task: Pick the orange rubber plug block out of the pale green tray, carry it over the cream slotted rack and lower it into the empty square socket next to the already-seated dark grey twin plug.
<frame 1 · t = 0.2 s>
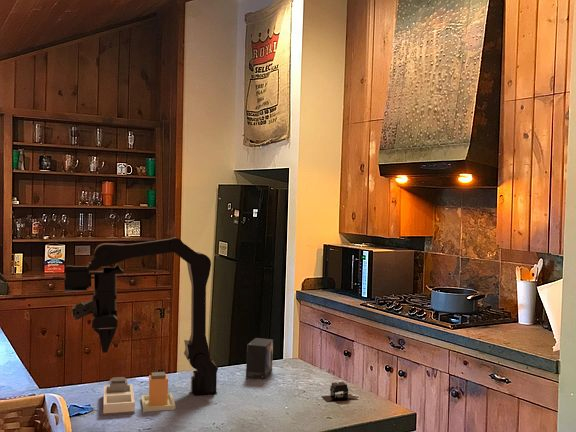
hand: (104, 348, 163), 14 cm above the table, fingers open, 9 cm apart
small box: (259, 375, 193), on the table
tray: (158, 406, 160), on the table
cream slotted rack: (118, 406, 159), on the table
plug: (158, 404, 160), point 1 cm above the table, touching tray
build plate: (339, 400, 171), on the table
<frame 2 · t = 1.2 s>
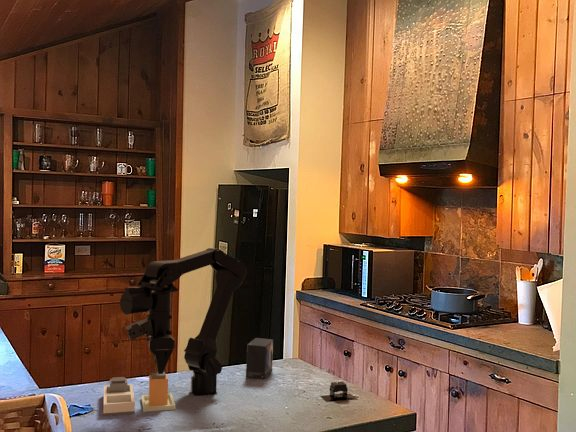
hand: (158, 369, 160), 10 cm above the table, fingers open, 9 cm apart
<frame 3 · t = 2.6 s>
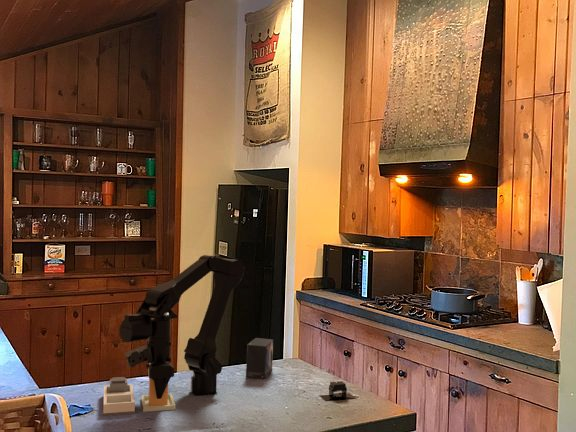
hand: (158, 395, 160), 3 cm above the table, fingers closed on plug, 4 cm apart
plug: (158, 404, 160), point 1 cm above the table, touching gripper, tray
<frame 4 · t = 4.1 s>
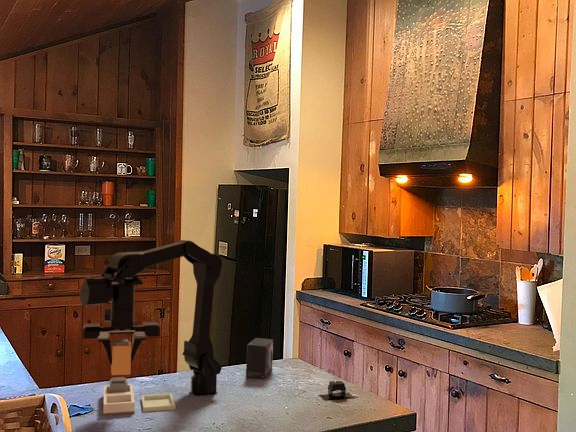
hand: (120, 363, 155), 12 cm above the table, fingers closed on plug, 4 cm apart
plug: (120, 372, 155), point 10 cm above the table, touching gripper
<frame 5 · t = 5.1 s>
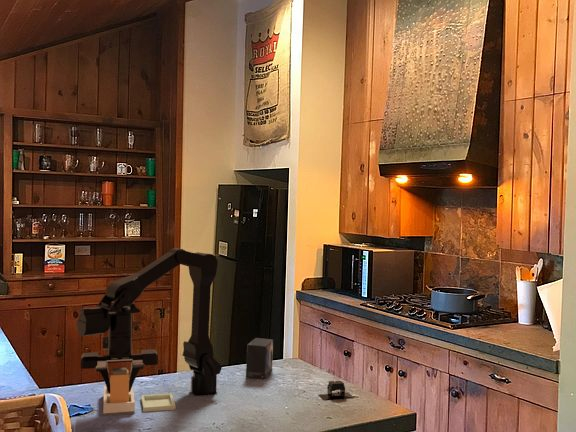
hand: (119, 392, 155), 5 cm above the table, fingers closed on plug, 4 cm apart
plug: (119, 400, 155), point 3 cm above the table, touching gripper
when the fingers open (4 cm above the table, at t = 5.7 s): plug stays where it is, resting on cream slotted rack.
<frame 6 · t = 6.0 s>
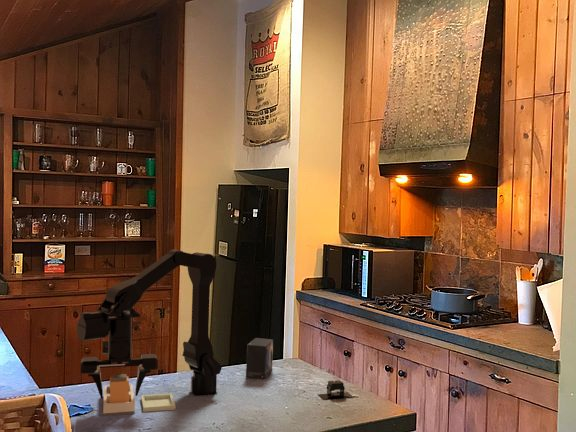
hand: (119, 396, 155), 4 cm above the table, fingers open, 8 cm apart
plug: (119, 407, 155), point 1 cm above the table, touching cream slotted rack
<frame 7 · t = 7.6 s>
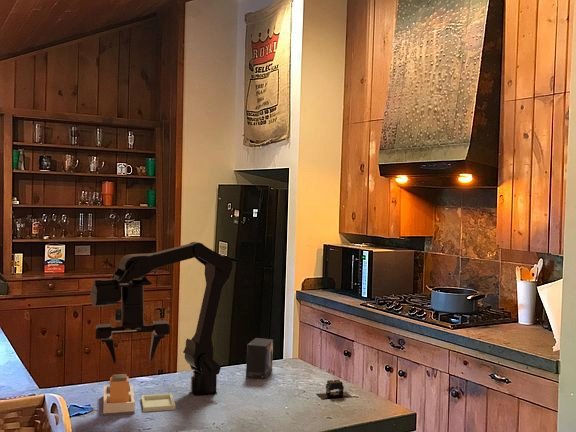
hand: (132, 361, 160), 12 cm above the table, fingers open, 9 cm apart
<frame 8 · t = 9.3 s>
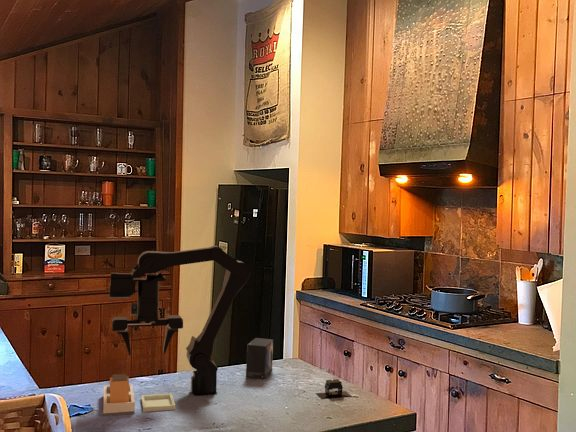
hand: (147, 354, 167), 12 cm above the table, fingers open, 9 cm apart
at the end: plug 0.0 cm from the target spot on the cream slotted rack, point 1.2 cm above the cream slotted rack's base; plug tilted 0°; the gripper is holding nothing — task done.
